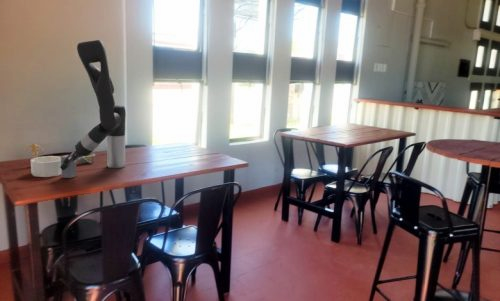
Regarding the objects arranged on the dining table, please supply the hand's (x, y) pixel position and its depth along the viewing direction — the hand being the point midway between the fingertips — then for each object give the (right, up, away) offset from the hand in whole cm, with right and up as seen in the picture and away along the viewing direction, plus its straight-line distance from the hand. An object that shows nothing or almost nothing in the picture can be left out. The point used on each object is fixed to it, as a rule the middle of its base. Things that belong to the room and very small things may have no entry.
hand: (64, 167), depth 183 cm
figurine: (-24, 0, +18) cm, 30 cm away
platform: (-2, 0, +29) cm, 29 cm away
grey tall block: (+2, -4, +1) cm, 5 cm away
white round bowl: (-11, -3, +6) cm, 13 cm away
